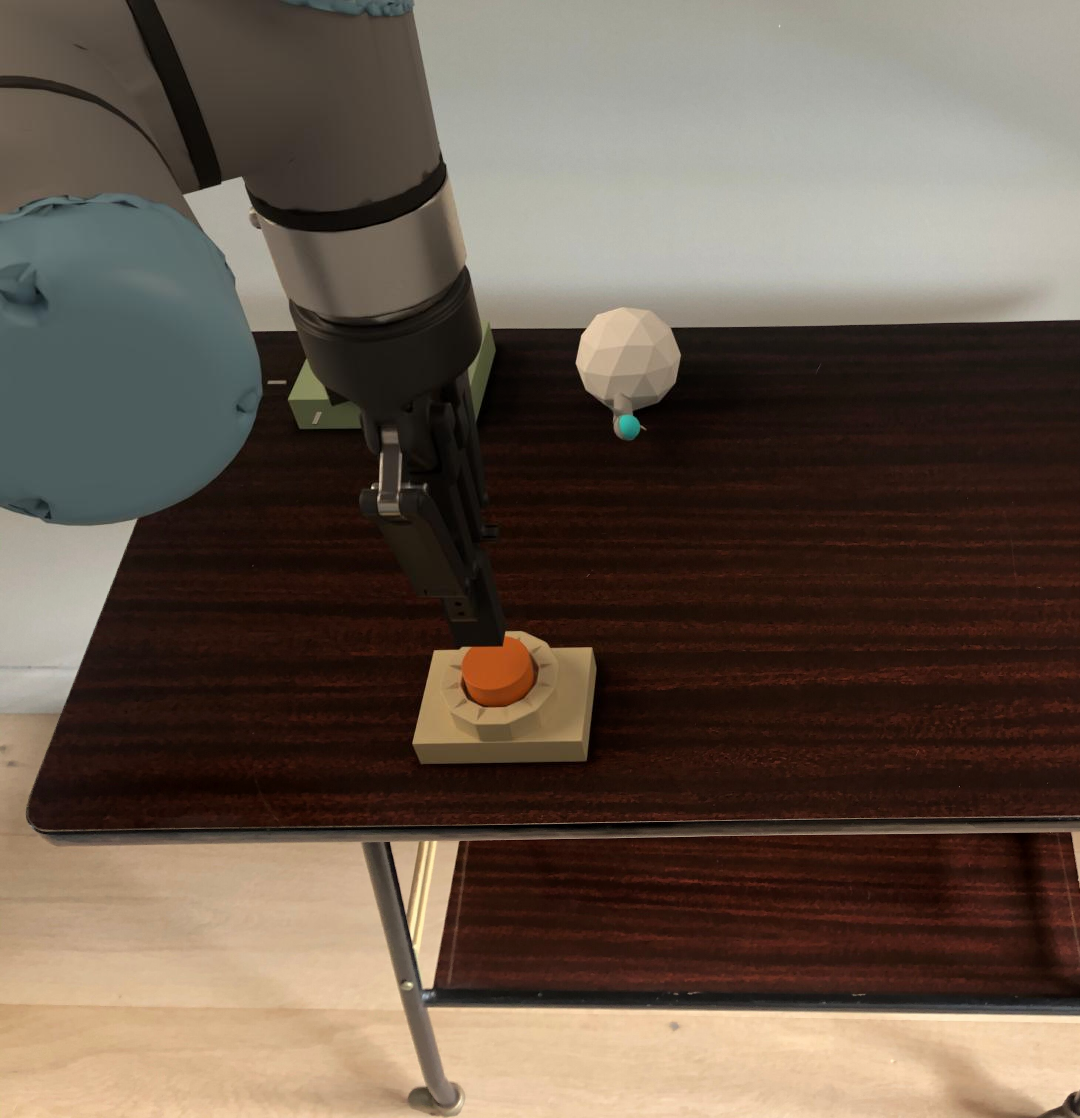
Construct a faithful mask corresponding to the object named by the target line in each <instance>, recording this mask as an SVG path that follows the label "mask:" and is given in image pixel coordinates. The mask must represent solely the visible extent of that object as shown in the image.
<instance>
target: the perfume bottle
mask: <svg viewBox="0 0 1080 1118" xmlns="http://www.w3.org/2000/svg"><path fill="white" fill-rule="evenodd" d="M681 357H682V355H681V350H680V349H679V346H678V343H677V340H676V339H675V336H674V333H673V331H672V328H671V327H670V326H669V325H668V324H667V323H666V322H664V321H663V320H662V319H660V317H659V316H657V315H656V314H655V313H654V312H653V311H652V310H647V309H640V308H632V307H625V306H622V307H618V308H616V309H612V310H609V311H605V312H602V313H598V314H596V316H595V317H594V318H593V319H592V321H591V322H590V323H589V324H588V326H587V327H586V329H585V330H584V331H583V333H582V334H581V336H580V340H579V345H578V350H577V354H576V360H575V365H576V368H577V371H578V373H579V376H580V379H581V382H582V384H583V386H584V389H585V391H586V392H588V393H589V394H590V395H592V397H594V398H595V399H596V400H597V401H599V402H601V403H602V404H603V405H604V406H606V407H608V409H610V410H611V411H612V413H613V418H612V419H613V420H612V424H613V431H614V433H615V435H616V437H618V438H619V439H621V440H622V441H633V440H635V438H636V437H637V436H638V435H639V433H640V431H641V429H642V430H644V431H647V428H645V427H644V426H643V425H641V424H640V421H639V419H637V417H635V416H634V412H635V411H637V410H640V409H643V408H646V407H649V406H653V405H655V404H658V403H660V402H661V400H662V399H663V398H664V397H665V396H666V395H667V394H668V392H670V390H671V389H672V388H673V387H674V385H675V384H676V382H677V377H678V372H679V367H680V361H681Z"/></svg>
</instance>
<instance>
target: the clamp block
mask: <svg viewBox="0 0 1080 1118" xmlns="http://www.w3.org/2000/svg"><path fill="white" fill-rule="evenodd" d="M480 322H481V327H482V334H483V336H482V344H481V348H480V351H479V353H478V355H477V357H476V359H475V360H474V362H473V363H472V364H471V365H470V367H469V368H468V373H469V382H470V388H471V394H472V400H473V407H474V413H475V419H476V422H477V420H478V417H479V413H480V410H481V406H482V402H483V399H484V395H485V391H486V387H487V384H488V380H489V377H490V373H491V369H492V365H493V362H494V358H495V355H496V351H497V349H496V345H495V341H494V337H493V333H492V328H491V324H490V321H489V320H480ZM286 384H287V380H268V381H267V386H286ZM287 398H288V399H287V401H288V404H289V406H290V408H291V411H292V413H293V416H294V418H295V421H296V423H297V425H298V428H299V429H300V430H332V429H333V430H334V429H335V430H338V429H340V430H341V429H343V430H344V429H362V428H361V425H360V421H359V410H360V408H359V407H358V406H357V405H356V404H354V403H353V402H351V401H348V402H345V403H342V404H339V405H336V406H331V403H330V401H329V399H328V397H327V395H326V393H325V390H324V388H323V386H322V384H321V382H320V381H319V380H318V379H317V378H316V377H315V375H314V374H313V372H312V370H311V368H310V366H309V363H308V360H307V358H306V359H305V360H304V362H303V366H302V367H301V370H300V372H299V374H298V376H297V378H296V381H295V382H294V385H293V387H292V390H291V391H290V394H289V395H288V397H287Z"/></svg>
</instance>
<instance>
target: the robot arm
mask: <svg viewBox="0 0 1080 1118" xmlns="http://www.w3.org/2000/svg"><path fill="white" fill-rule="evenodd" d="M414 6H415V0H0V508H2V509H4V510H7V511H10V512H12V513H16V514H18V515H24V516H27V517H30V518H34V519H39V520H41V521H42V522H44V523H45V524H49V525H50V524H51V525H60V526H67V527H68V526H69V527H70V526H71V527H73V526H74V527H75V526H76V527H92V526H103V525H113V524H119V523H124V522H129V521H133V520H137V519H141V518H143V517H147V516H150V515H153V514H155V513H158V512H160V511H163V510H165V509H168V508H171V507H172V506H175V505H177V504H178V503H181V502H183V501H184V500H187V499H189V498H190V497H192V496H193V495H195V494H196V493H198V492H199V491H201V490H203V489H204V488H206V487H207V486H208V485H209V484H210V483H211V482H213V480H215V479H216V478H217V477H218V476H219V475H220V474H221V473H222V472H223V471H224V470H225V469H226V467H228V465H229V464H231V463H232V461H233V460H234V459H235V458H236V456H237V455H238V453H239V452H240V450H241V449H242V448H243V446H244V445H245V443H246V441H247V440H248V438H249V435H250V433H251V431H252V429H253V427H254V423H255V420H256V417H257V412H258V409H259V404H260V402H261V400H262V397H263V396H264V392H263V384H262V368H261V360H260V356H259V352H258V348H257V344H256V340H255V338H254V335H253V333H252V330H251V327H250V324H249V321H248V319H247V316H246V314H245V310H244V308H243V304H242V302H241V300H240V297H239V294H238V292H237V289H236V276H235V274H234V272H233V270H232V268H231V267H230V265H229V264H228V262H227V259H226V254H225V253H224V252H223V251H222V249H220V248H219V247H218V246H217V244H216V243H215V242H214V241H213V240H212V238H211V237H210V236H209V235H208V234H207V233H206V232H205V231H204V229H203V227H202V226H201V223H200V222H199V220H198V219H197V217H196V215H195V213H194V212H193V210H192V207H190V204H189V203H188V201H187V200H186V198H185V196H184V195H188V194H192V193H195V192H199V191H203V190H206V189H210V188H213V187H217V186H220V185H222V183H223V182H226V181H230V180H234V179H238V178H242V180H243V182H244V188H245V191H246V194H247V196H248V199H249V201H250V204H251V205H252V206H250V208H249V216H248V219H249V222H250V224H251V226H253V227H254V228H255V229H257V230H261V232H262V235H263V237H264V240H265V243H266V245H267V249H268V251H269V254H270V257H271V259H272V261H273V262H272V263H273V266H274V268H275V271H276V273H277V276H278V280H279V282H280V285H281V288H282V289H283V291H284V293H285V295H287V296H288V297H289V298H290V299H289V301H288V309H289V313H290V316H291V319H292V321H293V323H294V327H295V329H296V332H297V335H298V337H299V341H300V344H301V346H302V349H303V351H304V355H305V358H306V359H307V360H308V363H309V366H310V368H311V370H312V372H313V374H314V375H315V377H316V378H317V379H318V380H319V381H320V382H321V383H322V384H323V385H324V386H325V387H327V388H328V389H330V390H332V391H333V392H335V393H337V394H339V395H341V396H343V397H345V398H346V399H348V400H350V401H351V402H353V403H354V404H356V405H357V406H358V407H359V408H360V410H359V421H360V425H361V428H360V429H361V432H362V434H363V437H364V439H365V442H366V445H367V448H368V450H369V451H370V452H371V454H372V455H373V456H374V457H376V460H377V463H378V465H379V476H378V477H379V478H378V482H373V483H372V484H371V488H363V489H362V490H361V492H360V493H359V497H358V499H359V501H358V504H359V508H360V509H359V510H360V512H361V515H362V516H363V517H364V518H365V519H367V520H369V521H371V522H372V523H374V524H376V526H377V527H378V529H379V531H380V533H381V534H382V536H383V538H384V540H385V542H386V543H387V545H388V547H389V549H390V551H391V552H392V554H393V555H394V558H395V559H396V561H397V563H398V565H399V566H400V568H401V570H402V571H403V573H404V575H405V577H406V578H407V580H408V582H409V584H410V585H411V587H412V589H413V591H414V593H415V595H416V596H417V597H418V598H439V601H440V605H441V607H442V610H443V613H444V617H445V620H446V623H447V626H448V630H449V633H450V635H451V640H452V642H453V645H454V647H455V648H462V647H503V643H504V637H505V632H506V631H507V623H506V619H505V615H504V612H503V608H502V604H501V600H500V596H499V592H498V589H497V584H496V580H495V577H494V573H493V569H492V565H491V562H490V557H489V554H488V550H487V547H481V544H497V543H498V542H499V538H500V526H499V523H498V522H497V523H485V521H484V516H483V513H482V512H483V511H487V510H488V506H489V504H490V496H489V494H488V490H487V483H486V476H485V470H484V464H483V458H482V450H481V445H480V439H479V431H478V425H477V421H476V419H475V413H474V407H473V400H472V394H471V388H470V382H469V373H468V368H469V367H470V365H471V364H472V363H473V362H474V360H475V359H476V357H477V355H478V353H479V351H480V348H481V344H482V336H483V334H482V327H481V322H480V321H481V318H480V313H479V308H478V304H477V301H476V295H475V291H474V290H475V289H474V286H473V282H472V277H471V274H470V273H471V272H470V270H469V268H468V266H467V265H466V261H467V257H468V255H467V250H466V249H467V248H466V245H465V239H464V236H463V232H462V227H461V223H460V218H459V215H458V210H457V206H456V201H455V197H454V193H453V192H454V191H453V188H452V184H451V179H450V174H449V171H448V167H447V164H446V162H445V161H444V156H443V153H442V150H441V145H440V143H441V142H440V140H439V136H438V131H437V126H436V121H435V116H434V111H433V106H432V105H433V104H432V101H431V100H432V99H431V96H430V90H429V86H428V85H429V84H428V80H427V76H426V70H425V64H424V60H423V55H422V54H423V53H422V50H421V45H420V40H419V35H418V31H417V30H418V29H417V24H416V19H415V14H414ZM287 296H286V297H287Z"/></svg>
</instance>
